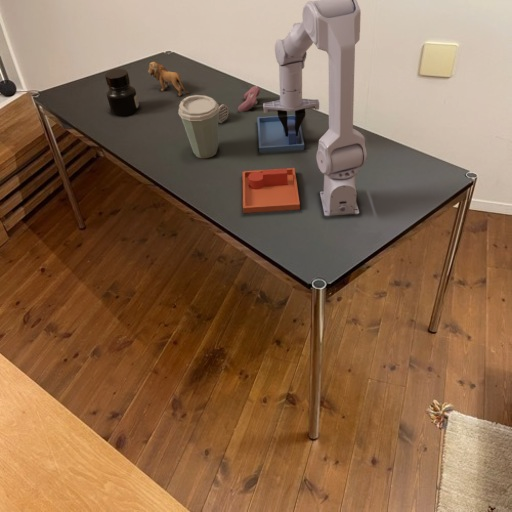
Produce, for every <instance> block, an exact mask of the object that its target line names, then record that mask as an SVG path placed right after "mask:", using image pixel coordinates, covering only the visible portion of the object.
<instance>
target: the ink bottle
mask: <svg viewBox="0 0 512 512" xmlns="http://www.w3.org/2000/svg"><path fill="white" fill-rule="evenodd" d="M104 78H105V82H106V85H107V87H108V89H107V90H106V97H107V102H108V105H109V108H110V112H111V114H112V115H115V116H118V117H126V116H130V115H133V114H134V113H136V112H138V110H139V109H140V103H139V99H138V95H137V92H136V91H137V90H136V88H135V87H134V86H133V85H132V84H131V80H130V77H129V71H128V70H126V69H124V68H117V69H116V68H115V69H111V70H109V71H107V72H106V73H105V74H104Z"/></svg>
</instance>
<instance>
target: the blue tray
mask: <svg viewBox="0 0 512 512" xmlns="http://www.w3.org/2000/svg"><path fill="white" fill-rule="evenodd" d="M287 117H288V118H287V120H295V114H287ZM256 119H257V121H256V122H257V135H258V138H257V139H258V153H260V154H262V153H276V152H277V153H278V152H291V151H304V150H305V142H304V141H305V140H304V135H303V131H302V130H303V129H302V124H301V125H300V128H299V131H298V136H296V144H293V145H289V144H288V137H286V136H285V133H284V132H283V125H282V123H281V121H280V119H279V117H278V115H269V116H258V117H256Z"/></svg>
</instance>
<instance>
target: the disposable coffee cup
mask: <svg viewBox="0 0 512 512" xmlns="http://www.w3.org/2000/svg"><path fill="white" fill-rule="evenodd" d="M187 96H188V97H186V96H185V97H186V98H185V99H183V100H182V101H181V102H180V101H179V103H180V105H179V104H178V110H177V113H178V115H179V117H180V118H181V119H180V120H181V122H182V125H183V127H184V129H185V133H186V136H187V138H188V141H189V144H190V147H191V149H192V152H193V154H194V155H195V157H196V158H199V159H209V158H212V157H214V156H215V155H216V154H217V152H218V149H219V122H218V113H219V105H218V103H219V102H217V101H216V100H215V99H214V98H213V97H211V96H209V95H200V94H193V95H187Z"/></svg>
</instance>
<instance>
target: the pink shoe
mask: <svg viewBox="0 0 512 512" xmlns="http://www.w3.org/2000/svg"><path fill="white" fill-rule="evenodd" d="M261 90H262V88H261V87H260V86H257V85H253V86H252V87H251V88H250V89H249V90H248V91H246V92H245V93H244V95H243V99H244V102H242V103H241V104H239V106H238V108H237V110H238V112H247V111H249V110H252V108H253V107H254V105H257V104H258V101H257V98H258V96H259V95H260V93H261Z"/></svg>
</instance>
